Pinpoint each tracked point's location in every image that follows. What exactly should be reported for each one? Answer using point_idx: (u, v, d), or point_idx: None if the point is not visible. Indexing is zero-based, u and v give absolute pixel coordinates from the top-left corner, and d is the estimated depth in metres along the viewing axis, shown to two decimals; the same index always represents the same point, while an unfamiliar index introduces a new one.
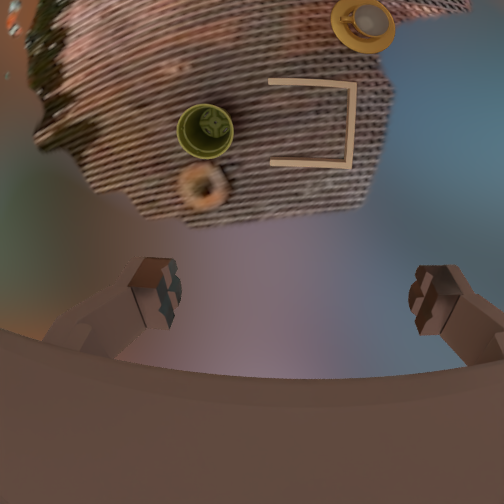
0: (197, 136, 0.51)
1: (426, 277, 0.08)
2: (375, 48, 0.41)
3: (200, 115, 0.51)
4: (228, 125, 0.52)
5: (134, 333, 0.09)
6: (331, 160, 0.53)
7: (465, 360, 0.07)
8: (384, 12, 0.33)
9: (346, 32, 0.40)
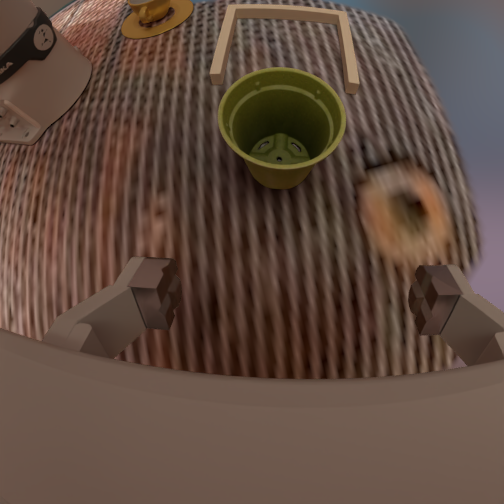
0: (300, 177, 0.25)
1: (426, 277, 0.08)
2: (188, 4, 0.34)
3: (260, 180, 0.27)
4: (287, 140, 0.29)
5: (134, 333, 0.09)
6: (339, 28, 0.30)
7: (465, 360, 0.07)
8: None
9: (163, 24, 0.33)
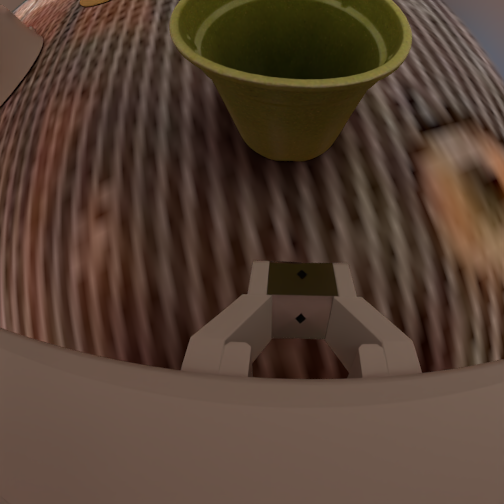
0: None
1: (302, 276, 0.09)
2: None
3: None
4: None
5: (262, 345, 0.08)
6: None
7: (350, 371, 0.08)
8: None
9: None
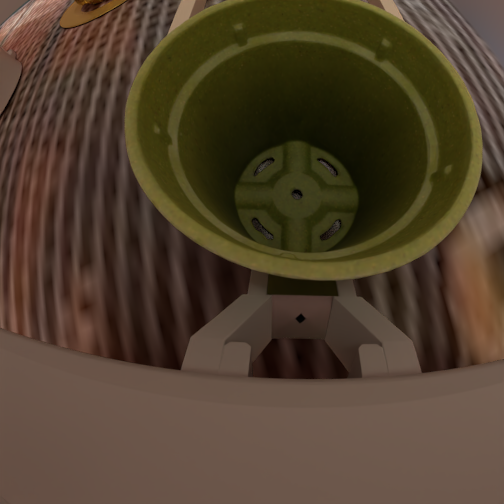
0: None
1: None
2: None
3: None
4: (310, 153, 0.15)
5: (262, 345, 0.08)
6: None
7: (350, 371, 0.08)
8: None
9: (108, 3, 0.20)
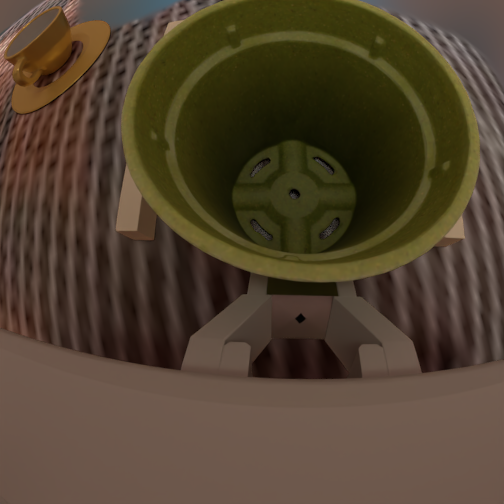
0: None
1: None
2: (103, 33, 0.19)
3: None
4: (306, 152, 0.15)
5: (262, 345, 0.08)
6: None
7: (350, 371, 0.08)
8: (29, 24, 0.15)
9: (60, 79, 0.18)
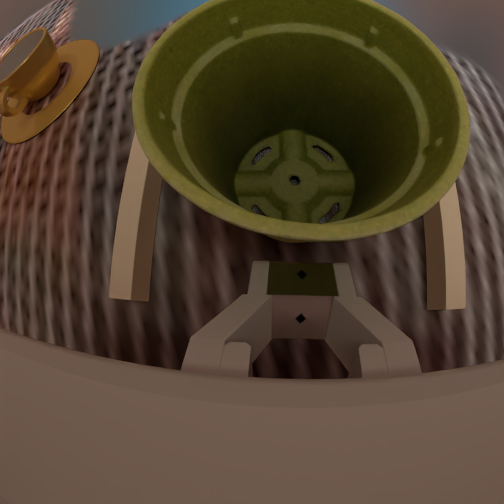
0: None
1: (302, 276, 0.09)
2: (91, 56, 0.19)
3: None
4: (305, 141, 0.15)
5: (262, 345, 0.08)
6: None
7: (350, 371, 0.08)
8: (16, 45, 0.15)
9: (46, 109, 0.18)
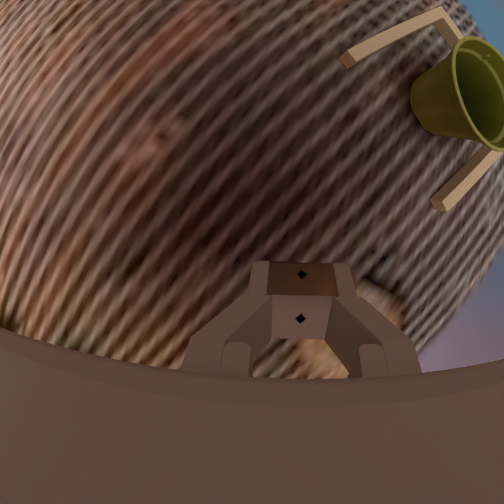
0: None
1: (302, 276, 0.09)
2: None
3: (415, 101, 0.21)
4: None
5: (262, 345, 0.08)
6: None
7: (350, 371, 0.08)
8: None
9: None
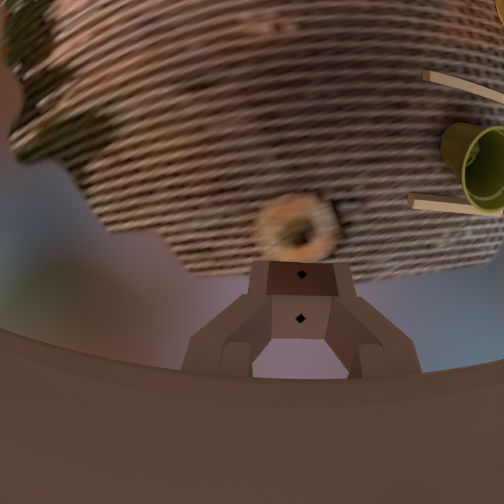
0: (450, 167, 0.27)
1: (302, 276, 0.09)
2: None
3: (447, 132, 0.27)
4: (474, 154, 0.28)
5: (262, 345, 0.08)
6: None
7: (350, 371, 0.08)
8: None
9: None
